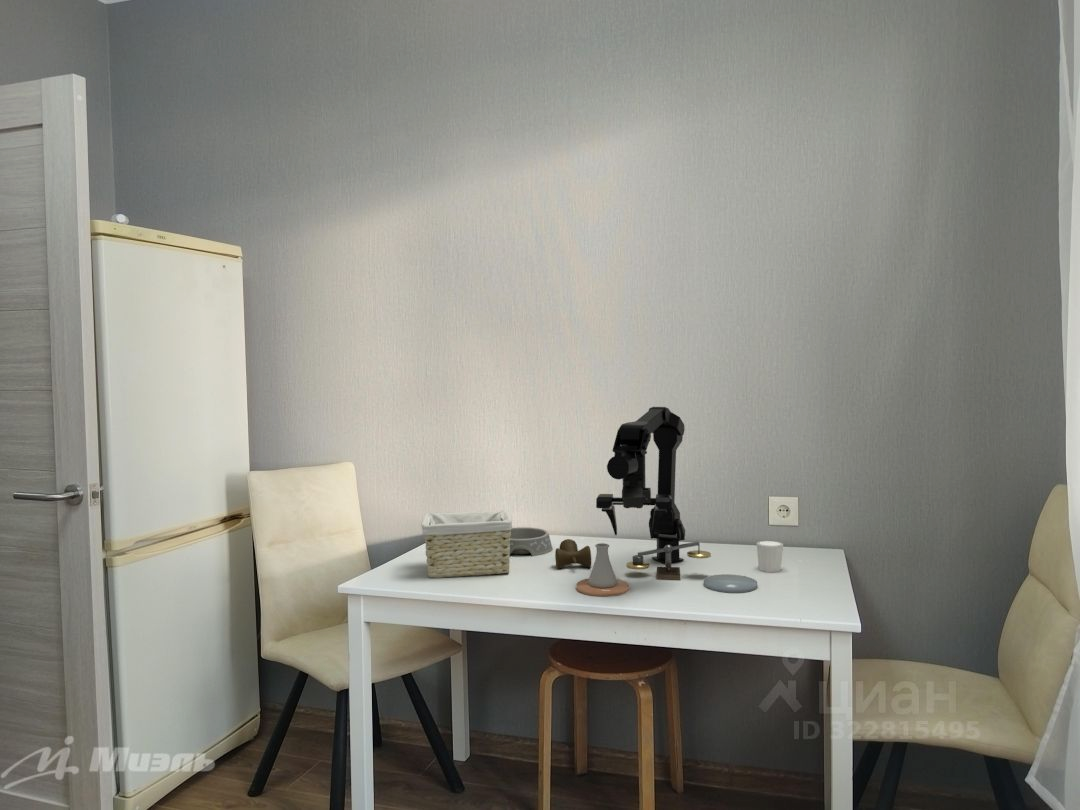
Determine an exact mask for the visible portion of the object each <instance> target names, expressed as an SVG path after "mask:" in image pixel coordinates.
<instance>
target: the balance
mask: <svg viewBox="0 0 1080 810" xmlns="http://www.w3.org/2000/svg"><path fill="white" fill-rule="evenodd" d="M697 546H698V548H697V550H696V549H695V550H689V551H687V553H686V556H687V557H689V558H691V559H708V558H710V557H712V553H711V552H710V551H706V550H700V542H699V541H693V542H688V543H683V544H679V545H676V546H671V545H666V546H665V547H664V548H660V549H657V548H655V549H651V550H644V551H638V552H637V554H636V555H633V556H632V561H628V562H627V563H626V568H628V569H631V570H646V569H649V568H650V563H649V562H646V561H644V556H647V555H648V556H649V555H654V554H657V553H660V552H666V563H665V566H656V580H667V581H668V580H669V581H681V567H680V566H672V563H671V552H672V550H676V549H679V550H680V549H686V548H691V547H697Z"/></svg>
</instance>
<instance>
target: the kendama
mask: <svg viewBox="0 0 1080 810" xmlns="http://www.w3.org/2000/svg"><path fill="white" fill-rule="evenodd" d="M554 553H555V554H554V559H555V566H556V569H559V570H560V569H562V568H564V567H566V566H569V565H576V564H578V565H581V566H584V567H586V568H589V569H590V568H591V567H592V551H591V546H589V545H586V546H584V547H583V548H580V549H578V544H577V542H576V541H575V540H573V539H569V538H566V539H563V540H562V541H561V542H560V544H559V547H556V549H555V552H554Z"/></svg>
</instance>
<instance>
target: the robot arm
mask: <svg viewBox="0 0 1080 810" xmlns="http://www.w3.org/2000/svg"><path fill="white" fill-rule="evenodd" d="M685 427H686V426H685V423H684V422H683V420H682V419H681V417H680V416H679V415H677V414H675V413H673V412H672V411H671V410H670V409H669V407H666V406H652V407H649V408H648V411H646V412H645V413H644V414H643V415H642V416H640V417H639V418H638V419H637V420H635V421H630V422H629V421H628V422H625V423H621V425H620V426H619V428H618V429H617V433H616V436H615V439H614V443H613V447H612V452H613V453H614V456H612V457H610V459H609V460H608V462H607V465H606V469H607V473H608V475H609V476H610V477H611V478H612V479H615V480H622V490H621V497H614V494H613V493H599V494H598V495H597V497H596V502H595V503H596V504H595V507H596V509H601V512H604V513H606V515H607V516H608V519H609V520H610V523H611V527H612V530H613V533H614V535H615V536H618V527H617V526H618V524H617V516H616V515H617V514H616V507H615V506H616V505H617V506H623V508H624V509H630V508H632V509H633V508H634V509H635V508H636V509H642V508H643V507H644V506H654V507H653V508H651V509H650V511H649V513H650V514H649V515H650V517H649V520H648V528H649V537H650V539H656V549H660V548H664V547H665V546H666V545H671V546H676V545H680V542H681V541H685V539H686V529H685V526H684V523H683V520H682V519H681V512H680V510H679V508H678V507H677V505H676V503H675V499H676V497H675V496H676V495H675V494H676V492H675V491H676V464H677V462H676V461H677V450H678V448H679V447H680V445H681V444H682V442H683V436H684V433H685V431H686V428H685ZM652 436H653V437H652ZM651 438H653V442H654V444H655V446H656V448H657V449H658V464H657V465H658V471H657V472H658V473H657V494H655V497H652V496H651V495H652V491H651V490H652V489H651V487H646V454H648V452H647V449H648V446H649V445H650V442H651ZM651 557H652V560H655V561H657V562H659V563H662V564H666V552H660V553H656V556H651ZM684 560H685V559H684V558H681V557H680V549H676V550H672V552H671V564H673V563H677V562H683V561H684Z"/></svg>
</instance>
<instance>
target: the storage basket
mask: <svg viewBox="0 0 1080 810" xmlns="http://www.w3.org/2000/svg"><path fill="white" fill-rule="evenodd" d="M512 521H513V520H512V517H511V515H510V513H509V512H508V510H505V509H503V510H502V509H501V510H486V511H485V510H484V511H483V510H481V511H465V512H463V511H462V512H459V511H458V512H435V513H434V512H428V513H427V512H426V513H424V514H423V516H422V519H421V531H422V535H423V536H424V543H425V556H426V564H427V576H428V577H429V578H431V579H432V578H435V579H441V578H447V577H449V578H450V577H451V578H452V577H454V578H455V577H456V578H457V577H464V576H466V577H467V576H474V577H475V576H486V575H490V576H491V575H496V574H497V575H499V574H509V573H510V556H511V554H510V537H511V529H512V528H513V525H512V524H513V523H512Z"/></svg>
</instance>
